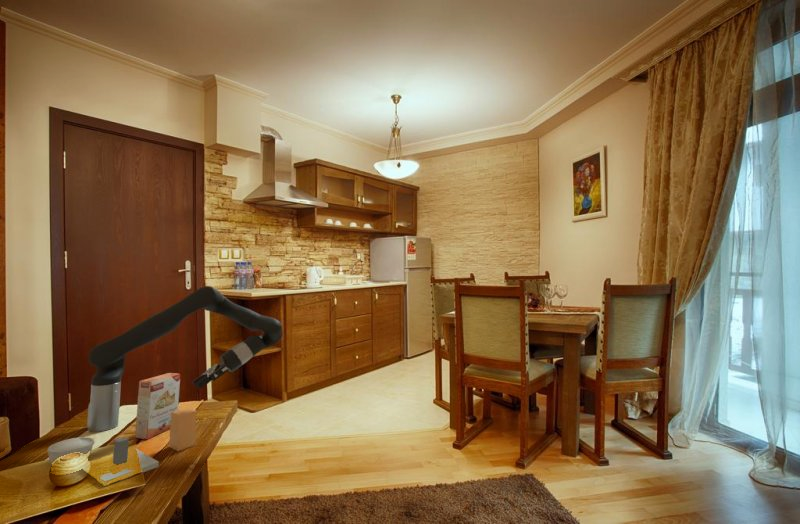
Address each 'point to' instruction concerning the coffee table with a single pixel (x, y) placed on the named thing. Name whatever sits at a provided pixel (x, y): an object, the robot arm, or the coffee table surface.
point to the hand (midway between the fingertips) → (195, 385)
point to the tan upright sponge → (182, 429)
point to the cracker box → (156, 404)
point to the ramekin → (70, 447)
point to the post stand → (122, 456)
